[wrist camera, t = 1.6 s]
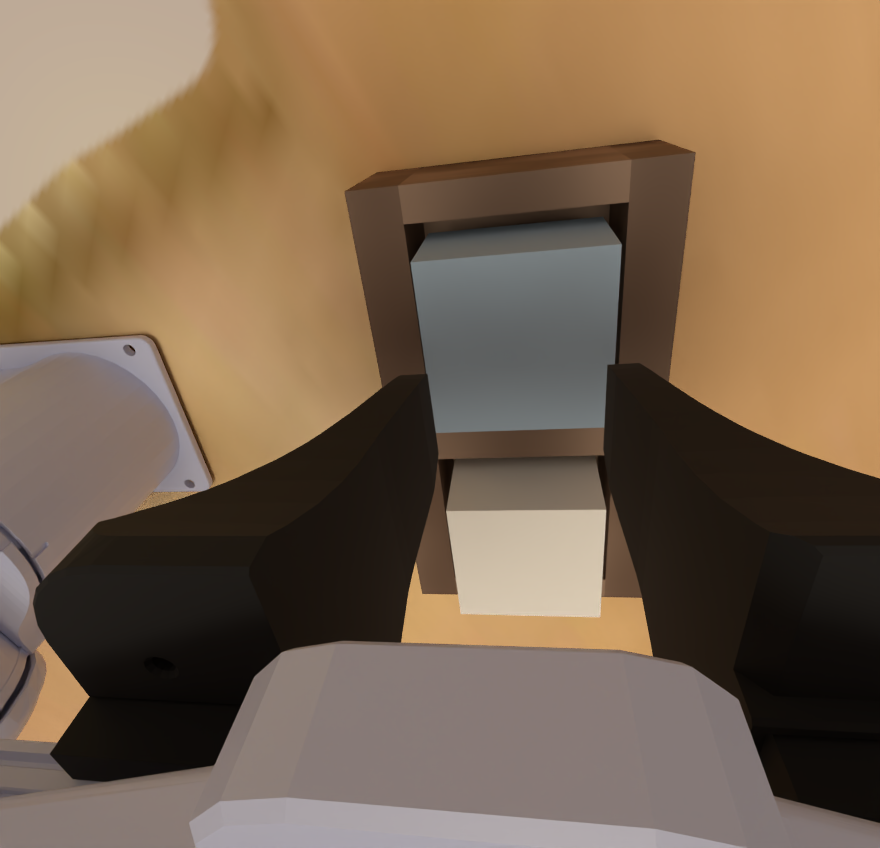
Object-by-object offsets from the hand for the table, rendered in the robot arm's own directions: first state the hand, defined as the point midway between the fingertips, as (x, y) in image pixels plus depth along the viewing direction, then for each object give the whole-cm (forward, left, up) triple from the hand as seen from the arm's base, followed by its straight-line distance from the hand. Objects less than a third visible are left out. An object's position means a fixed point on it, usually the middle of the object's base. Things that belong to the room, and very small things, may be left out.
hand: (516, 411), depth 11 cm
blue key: (0, 0, -6) cm, 6 cm away
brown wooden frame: (0, -4, -9) cm, 10 cm away
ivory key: (0, -8, -6) cm, 10 cm away
